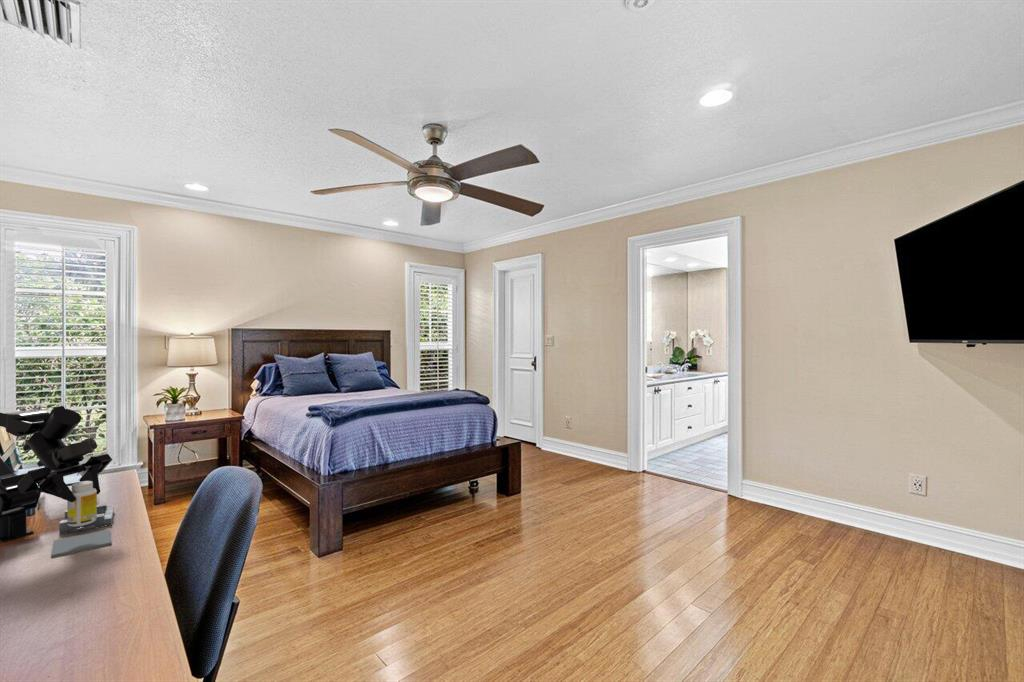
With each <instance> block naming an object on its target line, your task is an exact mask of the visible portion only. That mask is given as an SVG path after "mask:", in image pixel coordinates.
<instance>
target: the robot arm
mask: <svg viewBox="0 0 1024 682" xmlns="http://www.w3.org/2000/svg"><path fill="white" fill-rule="evenodd" d="M81 421H82V416H81V414H80V413H79V412H77V411H75V410H72V409H70V408H66V407H65V405H58V406H54V407H52V409H51V411H50V412H48V411H46V410H26V411H19V410H17V409H16V410H15V409H10V408H7V407H3V406H0V427H2V428H5V432H6V433H8V434H11V435H13V436H14V437H16V438H18V437H24V436H30V437H29V438H28V439H25V440H24V441H25V443H24V445H22V446H23V447H22V451H25V452H26V451H30V450H31V452H33V453H34V456H36V457H37V459H38V460H39V461H38V462H37V463H36V465H37V466H38V467H39V468H37V469H31V470H28V471H27V472H25V473H20V474H15V473H14V471H13V470H12V469H11V468H10V466H8V464H7V463H6V462H5V460H3V459H2V458H1V457H0V542H7V541H10V540H13V539H18V538H19V537H23V536H26V535H30V534H34V533H35V532H34V530H32V529H28V527H27V525H28V524H27V523H28V522H27V520H28V519H27V515H28V511H29V510H32V509H37V507H38V503H39V500H40V497H41V493H44V494H47V495H50V496H54V497H57V498H60V499H62V500H65V501H67V502H68V501H70V502H74V501H75V500H76V498H75V496H74V495H73V493H72V492H71V491H72V489H70V487H69V486H68V485H67V483H66V482H65V479H64V477H67V476H71V475H74V474H79V475H80V476H81V477H80V478H79V481H78V482H81V481H92V482H93V488H95V489H96V490H97V495H99V494H100V493H101V489H100V483H99V482H100V481H99V474H101V473H102V472H103V471H104V470H105V469H106V468H107V467H108V465H109V464H110V463H111V462H112V461H113V458H112V457H111V456H110V455H109V453H100V454H96V455H92V456H90V457H89V459H87V460H86V462H84V463H80V462H83V460H84V459H85V457H84V456H85V455H88V454H91V453H94V450H96V449H97V448H98V443H97V441H96V440H95V439H94V438H93V437H89V438H88V437H87V438H84V439H82V440H80V441H79V442H74V443H70V444H67V445H66V444H65V442H64V441H63V440H65V439H66V438H67V437H68V436H70V434H71V433H72V432H73V431H74V430H75V428H77V426H78V425H79V424H80V422H81Z"/></svg>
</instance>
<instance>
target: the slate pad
mask: <svg viewBox="0 0 1024 682" xmlns="http://www.w3.org/2000/svg"><path fill="white" fill-rule="evenodd" d="M110 544H111V545H112V536H111V529H104V530H98V531H94V532H89V533H84V534H79V535H74V536H69V537H63V538H60V539H55V540H53V541H52V549H51V554H50V558H55V557H60V556H65V555H69V554H74V553H75V554H76V553H79V552H83V551H84V552H85V551H89V550H93V549H97V548H102V546H103V547H106V545H107V546H111V545H110Z"/></svg>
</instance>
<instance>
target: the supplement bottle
mask: <svg viewBox="0 0 1024 682" xmlns="http://www.w3.org/2000/svg"><path fill="white" fill-rule="evenodd" d="M71 492H72V493H73V495H74V496H75V498H76V500H75V501H74V502H70V501H67V509H66V510H68V511H67V514H68V525H69V526H83V525H87V524H90V523H92V522H94V521H95V520H96V519H97V505H98V504H97V503H98V494H97V490H96V489H95V488H93V482H92V481H81V482H80V481H78V482H74V483H72V484H71Z"/></svg>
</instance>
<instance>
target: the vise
mask: <svg viewBox="0 0 1024 682" xmlns="http://www.w3.org/2000/svg"><path fill="white" fill-rule="evenodd" d="M114 507H115V506H114V505H108V503H106V502H105V503H100V504H97V519H96V520H95V521H94V522H92V523H90V524H87V525H83V526H69V525H68V514H67V511H68V510H67V509H65V511H64V519H63V520H60V521H59V524H58V525H59V526H58V527H59V528H58V529H59V535H64V534H65V535H66V534H67V535H70V534H76V533H81V532H87V531H91V530H92V531H93V530H95V529H97V528H96V527H99V528H102V527H101V526H105V525H110V526H112V525H111V524H113V519H114V514H115V513H114V512H115V508H114ZM113 513H114V514H113ZM104 515H105V516H104ZM112 518H113V519H112ZM105 527H106V526H105Z"/></svg>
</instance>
